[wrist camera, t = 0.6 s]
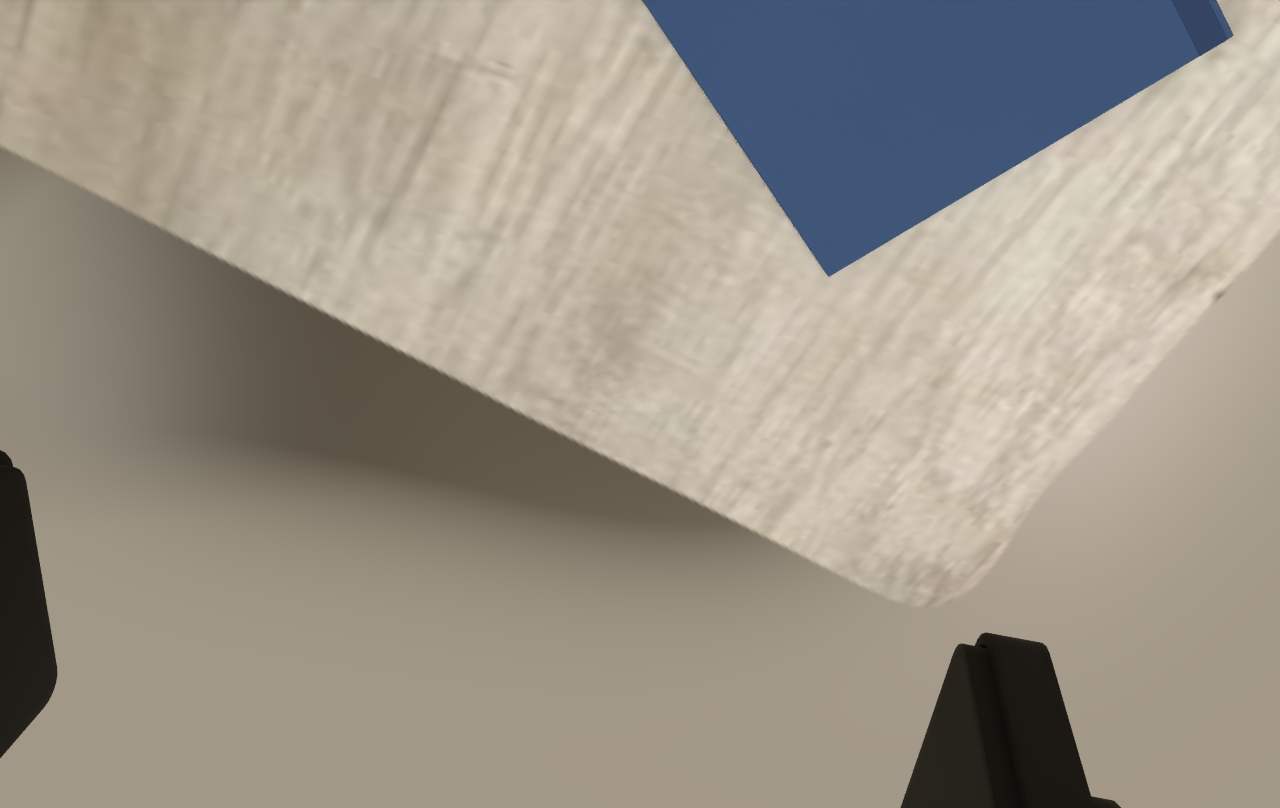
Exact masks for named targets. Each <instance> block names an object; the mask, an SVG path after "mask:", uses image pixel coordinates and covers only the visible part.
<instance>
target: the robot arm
mask: <svg viewBox="0 0 1280 808" xmlns="http://www.w3.org/2000/svg"><path fill="white" fill-rule="evenodd" d="M56 679H57V665H56V658H55V652H54V646H53V640H52V634H51V629H50V622H49V616H48V611H47V605H46V598H45V592H44V586H43V580H42V574H41V569H40V562H39V557H38V550H37V545H36V539H35V533H34V526H33V520H32V514H31V508H30V502H29V496H28V490H27V484H26V480H25V477H24V474H23V473H22V472H21V470H20V469H17V468H15V467H13V464H12V461H11V459H10V458H9V456H8V455H7V454H6V453H5V452H3V451H1V450H0V758H1V757H2V756H3V754H4V753H5V752H6V751H7V750H8V749H9V748H10V746H11V745H12V744H13V743H14V742H15V741H16V739H17V738H18V737H19V736H20V735H21V734H22V732H23V731H24V730H25V729H26V728H27V727H28V725H29V724H30V723H31V722H32V721H33V720H34V719H35V717H36V716H37V715H38V714H39V713H40V712H41V710H42V709H43V708H44V707H45V705H46V704H47V703H48V701H49V699H50V697H51V695H52V693H53V690H54V688H55V684H56ZM901 808H1121V807H1120V806H1119V805H1118V804H1117V803H1116V802H1115V801H1112V800H1107V799H1102V798H1097V797H1091V795H1090V791H1089V788H1088V784H1087V781H1086V777H1085V774H1084V770H1083V767H1082V764H1081V760H1080V757H1079V753H1078V750H1077V746H1076V743H1075V740H1074V736H1073V733H1072V729H1071V726H1070V722H1069V719H1068V715H1067V712H1066V709H1065V705H1064V702H1063V698H1062V695H1061V691H1060V688H1059V684H1058V681H1057V677H1056V674H1055V670H1054V667H1053V663H1052V660H1051V657H1050V653H1049V651H1048V649H1047V647H1046V646H1045V645H1044V644H1043V643H1040V642H1034V641H1029V640H1023V639H1018V638H1012V637H1007V636H1002V635H997V634H991V633H983V634H981V635H980V637H979V638H978V640H977V642H976V644H975V646H972V645H966V644H959V645H958V646H957V647H956V649H955V651H954V653H953V656H952V659H951V662H950V665H949V668H948V671H947V674H946V677H945V680H944V682H943V685H942V689H941V691H940V694H939V697H938V700H937V703H936V706H935V709H934V712H933V715H932V717H931V721H930V724H929V726H928V729H927V733H926V735H925V738H924V741H923V744H922V747H921V750H920V753H919V756H918V758H917V761H916V764H915V767H914V770H913V773H912V776H911V779H910V782H909V785H908V788H907V791H906V794H905V797H904V799H903V803H902V806H901Z"/></svg>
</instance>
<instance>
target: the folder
mask: <svg viewBox="0 0 1280 808" xmlns="http://www.w3.org/2000/svg"><path fill="white" fill-rule="evenodd" d="M643 2H644V3H645V5H646V6H647V8H648V9H649V11H650V12H651V14H652V15H653V17H654V18H655V20H656V21H657V23H658V24H659V26H660V27H661V29H662V30H663V32H664V33H665V35H666V36H667V38H668V39H669V41H670V42H671V44H672V45H673V47H674V48H675V49H676V51H677V52H678V54H679V55H680V57H681V58H682V60H683V61H684V63H685V64H686V66H687V67H688V69H689V70H690V72H691V73H692V75H693V76H694V78H695V79H696V81H697V82H698V84H699V85H700V87H701V88H702V90H703V91H704V93H705V94H706V96H707V97H708V99H709V100H710V102H711V103H712V104H713V106H714V107H715V109H716V110H717V112H718V113H719V115H720V116H721V118H722V119H723V121H724V122H725V124H726V125H727V127H728V128H729V130H730V131H731V133H732V134H733V136H734V137H735V139H736V140H737V142H738V143H739V145H740V146H741V148H742V149H743V151H744V152H745V154H746V155H747V157H748V158H749V160H750V161H751V162H752V164H753V165H754V167H755V168H756V170H757V171H758V173H759V174H760V176H761V177H762V179H763V180H764V182H765V183H766V185H767V186H768V188H769V189H770V191H771V192H772V194H773V195H774V197H775V198H776V200H777V201H778V203H779V204H780V206H781V207H782V209H783V210H784V212H785V213H786V215H787V216H788V218H789V219H790V220H791V222H792V223H793V225H794V226H795V228H796V229H797V231H798V232H799V234H800V235H801V237H802V238H803V240H804V241H805V243H806V244H807V246H808V247H809V249H810V250H811V252H812V253H813V255H814V256H815V258H816V259H817V261H818V262H819V264H820V265H821V267H822V268H823V270H824V271H825V273H826V274H827V275H828V276H831V275H833V274H834V273H836V272H838V271H839V270H841V269H843V268H844V267H846V266H848V265H849V264H851V263H853V262H854V261H856V260H858V259H860V258H861V257H863V256H865V255H866V254H868V253H870V252H871V251H873V250H875V249H876V248H878V247H880V246H881V245H883V244H885V243H886V242H888V241H890V240H891V239H893V238H895V237H896V236H898V235H900V234H902V233H903V232H905V231H907V230H908V229H910V228H912V227H913V226H915V225H917V224H918V223H920V222H922V221H923V220H925V219H927V218H928V217H930V216H932V215H933V214H935V213H937V212H938V211H940V210H942V209H944V208H945V207H947V206H949V205H950V204H952V203H954V202H955V201H957V200H959V199H960V198H962V197H964V196H965V195H967V194H969V193H970V192H972V191H974V190H975V189H977V188H979V187H980V186H982V185H984V184H986V183H987V182H989V181H991V180H992V179H994V178H996V177H997V176H999V175H1001V174H1002V173H1004V172H1006V171H1007V170H1009V169H1011V168H1012V167H1014V166H1016V165H1017V164H1019V163H1021V162H1022V161H1024V160H1026V159H1028V158H1029V157H1031V156H1033V155H1034V154H1036V153H1038V152H1039V151H1041V150H1043V149H1044V148H1046V147H1048V146H1049V145H1051V144H1053V143H1054V142H1056V141H1058V140H1059V139H1061V138H1063V137H1064V136H1066V135H1068V134H1070V133H1071V132H1073V131H1075V130H1076V129H1078V128H1080V127H1081V126H1083V125H1085V124H1086V123H1088V122H1090V121H1091V120H1093V119H1095V118H1096V117H1098V116H1100V115H1101V114H1103V113H1105V112H1106V111H1108V110H1110V109H1112V108H1113V107H1115V106H1117V105H1118V104H1120V103H1122V102H1123V101H1125V100H1127V99H1128V98H1130V97H1132V96H1133V95H1135V94H1137V93H1138V92H1140V91H1142V90H1143V89H1145V88H1147V87H1148V86H1150V85H1152V84H1154V83H1155V82H1157V81H1159V80H1160V79H1162V78H1164V77H1165V76H1167V75H1169V74H1170V73H1172V72H1174V71H1175V70H1177V69H1179V68H1180V67H1182V66H1184V65H1185V64H1187V63H1189V62H1190V61H1192V60H1194V59H1196V58H1197V57H1199V56H1201V55H1203V54H1204V53H1206V52H1208V51H1209V50H1211V49H1213V48H1214V47H1216V46H1218V45H1219V44H1221V43H1223V42H1224V41H1226V40H1227V39H1229V38H1231V37H1232V36H1233V33H1232V31H1231V29H1230V27H1229V25H1228V23H1227V21H1226V19H1225V17H1224V15H1223V13H1222V11H1221V9H1220V7H1219V5H1218V3H1217V1H1216V0H643Z"/></svg>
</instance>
